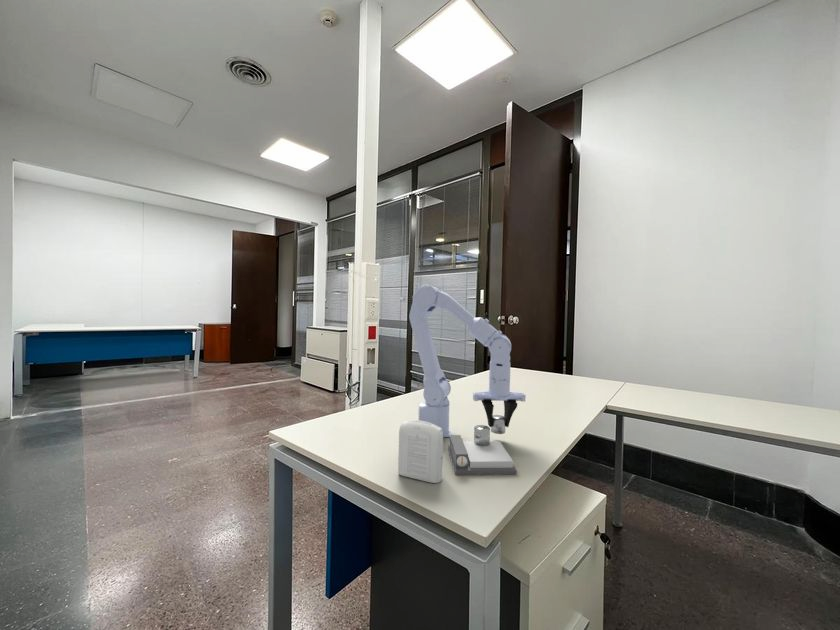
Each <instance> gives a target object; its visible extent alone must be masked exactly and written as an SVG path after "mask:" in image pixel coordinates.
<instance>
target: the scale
mask: <svg viewBox="0 0 840 630" xmlns="http://www.w3.org/2000/svg"><path fill="white" fill-rule="evenodd" d="M447 446H448V447H447V448H448V449H447V450H448V453H449V456H450V459H451V463H452V467H453V470H454V474H455V475H456V476H457V475H461V476H462V475H463V476H464V475H469V476H470V475H471V476H472V475H473V476H474V475H475V476H476V475H517V471H518V470H517V468H516V467H515V465H514V461H513V459H512V457H511V455H509V452H508V451H507V450H506V448H505V446H504V445H503V444H502V443H501V441H498V440H497V441H496V440H495V441H491V440H490V444H489V445H488V446H478V445H476V444H475V443H474V440H473V441H472V440H471V441H469V440H467V441H463V438H462V436H461V434H452V435H450V437H449V445H447Z"/></svg>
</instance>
